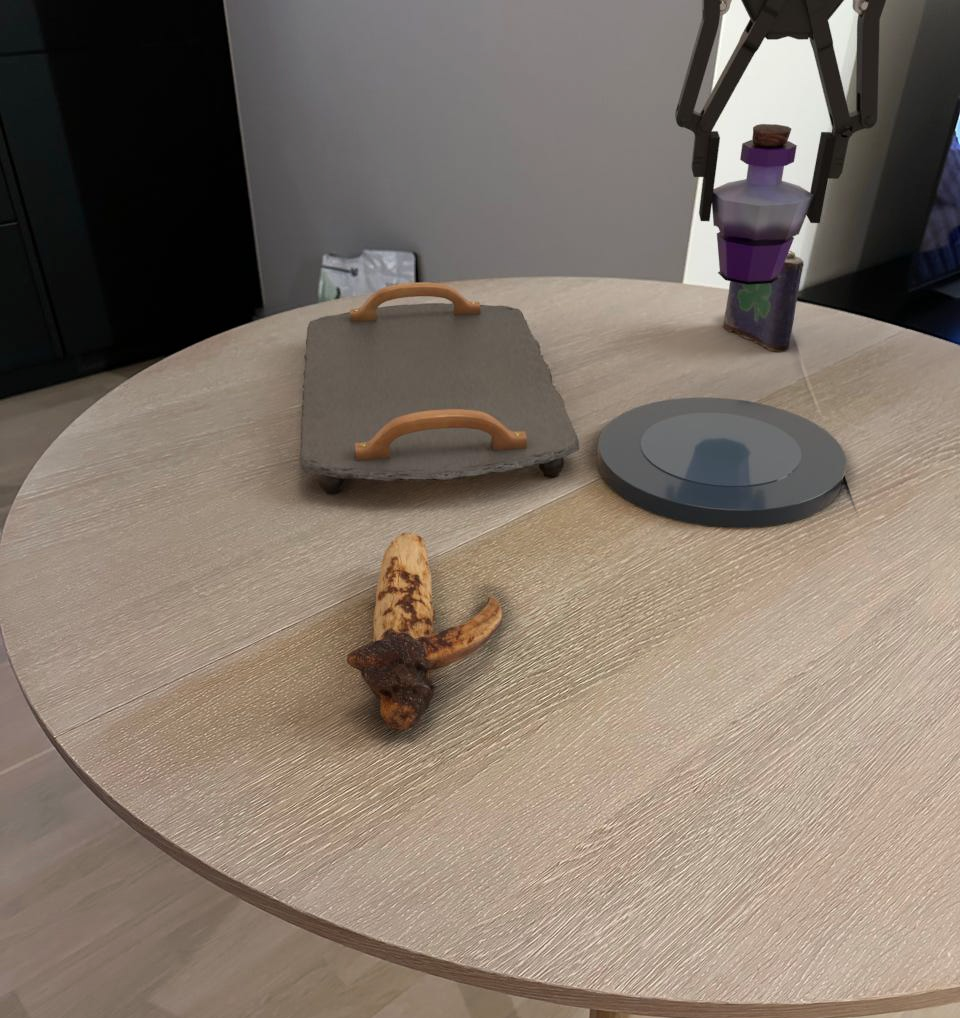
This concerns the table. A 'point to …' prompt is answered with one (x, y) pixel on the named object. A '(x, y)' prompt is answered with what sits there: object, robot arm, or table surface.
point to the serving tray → (428, 393)
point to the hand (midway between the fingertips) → (758, 217)
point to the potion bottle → (759, 210)
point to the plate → (721, 462)
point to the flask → (766, 307)
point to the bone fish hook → (413, 635)
